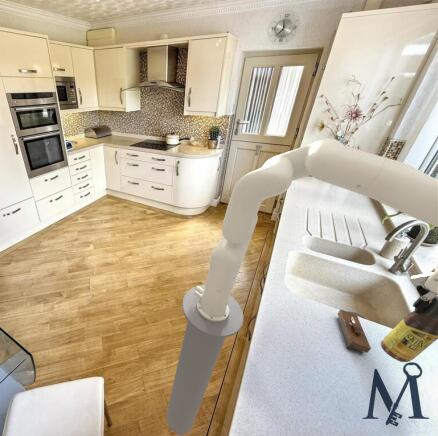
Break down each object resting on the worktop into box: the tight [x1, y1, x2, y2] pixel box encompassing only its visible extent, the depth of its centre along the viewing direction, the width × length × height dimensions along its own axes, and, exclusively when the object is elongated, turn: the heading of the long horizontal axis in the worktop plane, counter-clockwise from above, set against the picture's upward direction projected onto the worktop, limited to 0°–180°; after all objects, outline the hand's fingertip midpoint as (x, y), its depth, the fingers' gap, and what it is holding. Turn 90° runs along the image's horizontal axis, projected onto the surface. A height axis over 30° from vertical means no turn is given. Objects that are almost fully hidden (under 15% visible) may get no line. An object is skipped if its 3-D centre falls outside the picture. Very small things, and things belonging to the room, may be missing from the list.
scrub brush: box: [336, 309, 372, 354], centre depth 80 cm, size 14×5×6 cm, turn 157°
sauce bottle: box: [380, 295, 438, 363], centre depth 58 cm, size 6×6×20 cm
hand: (431, 316), depth 56 cm, fingers closed on sauce bottle, 4 cm apart
